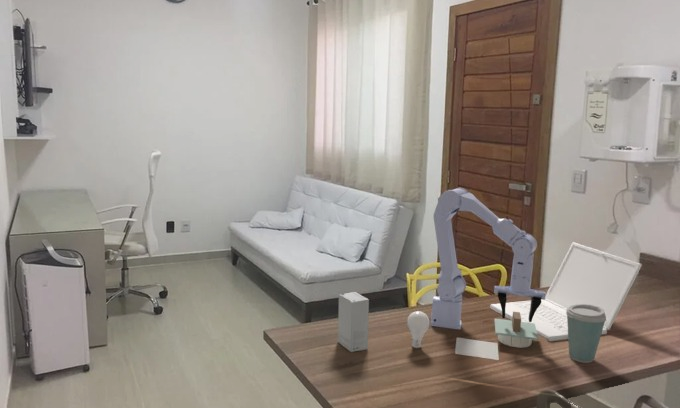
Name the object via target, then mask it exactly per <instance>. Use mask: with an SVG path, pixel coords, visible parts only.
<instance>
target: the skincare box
mask: <svg viewBox="0 0 680 408" xmlns="http://www.w3.org/2000/svg"><path fill="white" fill-rule="evenodd" d="M369 306H370V299H368V298H367V297H366V296H363V295H361V294H359V292H356V291H352V292H346V293H340V294H338V314H337V315H338V319H337V320H338V325H337V327H338V328H337V329H338V330H337V342H338V343H339V344H340V345H341V346H343V348H345V349H346V350H348V351H349V352H350V353H354V352H361V351H366V350H368V348H369V317H370V316H369V312H370V311H369V309H370V307H369Z"/></svg>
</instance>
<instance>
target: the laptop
mask: <svg viewBox="0 0 680 408" xmlns="http://www.w3.org/2000/svg"><path fill="white" fill-rule="evenodd" d="M642 266H643V264H642V263H640V262H636V261H634V260H632V259H631V260H630V259H628V258H624V257H621V256H619V255H614V254H611V253H609V252H606V251H603V250H599V249H596V248H593V247H590V246H586V245H583V244H582V243H581V244H580V243H577V242H574V241H572V243H571V244H570V246H569V249H568V250H567V253H566V254H565V256H564V258H563V260H562V262H561V264H560V266H559V268H558V270H557V272H556V274H555V276H554V278H553V280H552V281H551V284H550V286H549V288H548V290H547V291H546V297H545V300H542V299H541V304H540V306H539V307H538V308H537V310H536V312H535V313H534V316H533V318H532V322H529V312H530V306H531V299H530V300H521V301H513V302H511V301H510V302H506V307H505V318H507V320H511V321H512V317H513V312H520V315H521V322H526V323H534V324H535V327H536V331H537V334H538V336H539V335H540V336H541V337H544V338H545V339H546V340H547V342H554V341H556V342H557V341H563V340H568V322H567V315H566V311H567V309H568V308H569V307H570V306H572V305H576V304H590V305H594V306H597V307H600V308H602V309H603V310H604V312H605V315H606V321H605V323H604V326H603V330H602V333H601V335H607V333H608V331H610V330H611V327H612V325H613V323H614V322H615V320H616V317H617V315H618V314H619V312H620V310H621V307H622V306H623V304H624V302H625V300H626V297H627V296H628V293H629V291H630V289H631V288H632V285H633V284H634V282H635V279H636V278H637V276H638V274H639V272H640V270H641V268H642ZM489 309H491V310H493V311H494V312H495V313H498V314H499V315H501V316H502V308H501V304H500V302H499V303H491V304H490V305H489Z"/></svg>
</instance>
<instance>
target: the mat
mask: <svg viewBox="0 0 680 408" xmlns="http://www.w3.org/2000/svg"><path fill="white" fill-rule="evenodd" d="M454 350H455V351H454V354H455V355H460V356H462V355H463V356H469V357H473V358H474V357H475V358H483V359H488V360H493V361H494V360H495V361H500V360H499V344H498V342H490V341H484V340H483V341H482V340H477V339H470V338H464V337H456V342H455V348H454Z"/></svg>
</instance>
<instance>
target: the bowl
mask: <svg viewBox="0 0 680 408" xmlns="http://www.w3.org/2000/svg"><path fill="white" fill-rule="evenodd" d="M497 340H498V342H500V343H501V344H503V345H505V346H508V347H512V348H513V347H514V348H528V347H530V346H531V345H532V340H533V339H525V338H518V337H511V336H504V335H497Z"/></svg>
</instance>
